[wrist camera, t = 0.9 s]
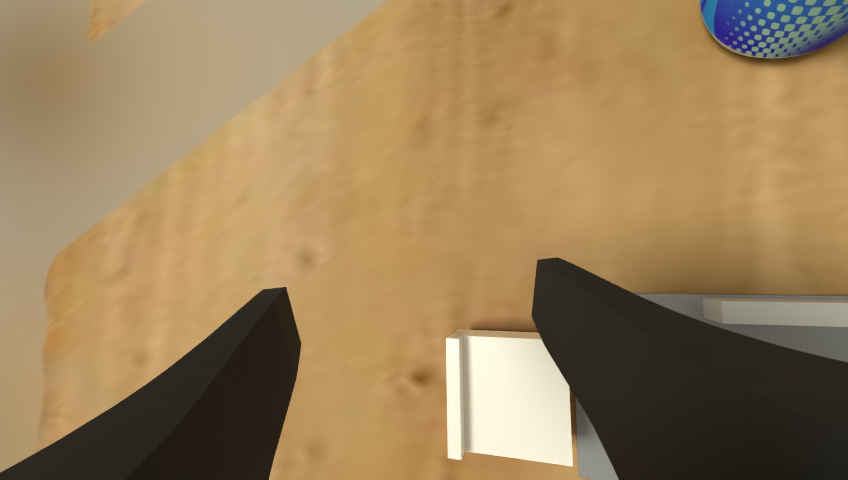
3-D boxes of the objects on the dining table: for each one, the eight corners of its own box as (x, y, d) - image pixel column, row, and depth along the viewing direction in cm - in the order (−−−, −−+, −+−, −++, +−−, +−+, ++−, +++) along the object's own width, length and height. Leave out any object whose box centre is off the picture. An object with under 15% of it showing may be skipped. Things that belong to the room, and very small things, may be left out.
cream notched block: (569, 437, 24) (576, 477, 19) (462, 424, 26) (446, 457, 22) (564, 330, 25) (570, 344, 20) (460, 326, 27) (444, 338, 22)
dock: (937, 524, 19) (1055, 600, 15) (577, 472, 24) (586, 516, 20) (908, 295, 20) (1011, 301, 16) (569, 292, 25) (575, 297, 21)
